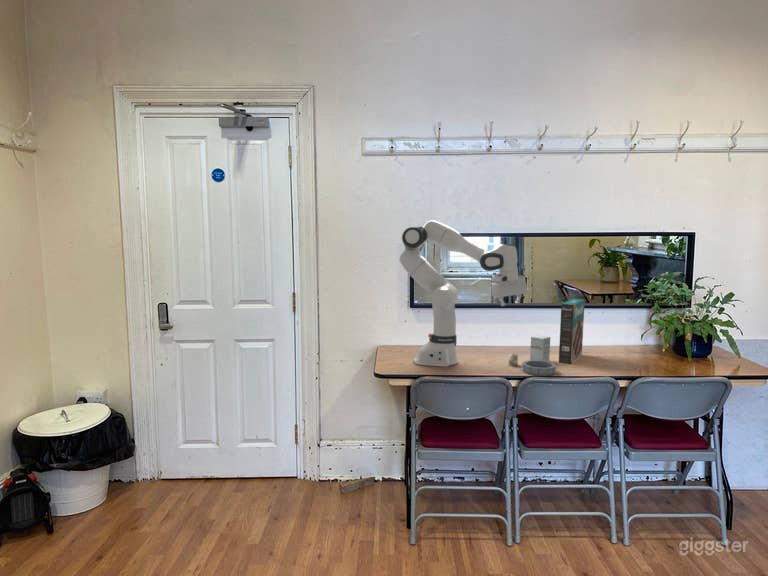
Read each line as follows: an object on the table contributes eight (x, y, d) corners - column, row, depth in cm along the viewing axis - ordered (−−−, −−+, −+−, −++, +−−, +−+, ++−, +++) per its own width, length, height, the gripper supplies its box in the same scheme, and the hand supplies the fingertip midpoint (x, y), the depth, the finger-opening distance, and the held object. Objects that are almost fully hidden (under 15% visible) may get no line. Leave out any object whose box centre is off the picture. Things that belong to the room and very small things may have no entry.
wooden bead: (509, 365, 262) (510, 355, 262) (508, 363, 266) (508, 353, 266) (518, 366, 262) (518, 356, 261) (516, 363, 266) (517, 353, 266)
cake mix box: (570, 364, 266) (573, 304, 262) (558, 362, 269) (561, 303, 265) (581, 355, 284) (584, 299, 280) (570, 353, 287) (572, 298, 283)
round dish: (526, 375, 246) (526, 368, 245) (519, 366, 261) (519, 359, 260) (559, 376, 245) (559, 368, 245) (550, 367, 260) (551, 360, 259)
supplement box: (529, 360, 272) (530, 336, 271) (536, 358, 278) (537, 334, 276) (542, 363, 267) (543, 338, 266) (549, 360, 272) (550, 336, 271)
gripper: (520, 274, 269) (521, 301, 270) (488, 278, 259) (490, 306, 261) (529, 274, 264) (530, 302, 265) (497, 278, 254) (499, 307, 255)
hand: (510, 304), depth 263 cm, fingers open, 8 cm apart
